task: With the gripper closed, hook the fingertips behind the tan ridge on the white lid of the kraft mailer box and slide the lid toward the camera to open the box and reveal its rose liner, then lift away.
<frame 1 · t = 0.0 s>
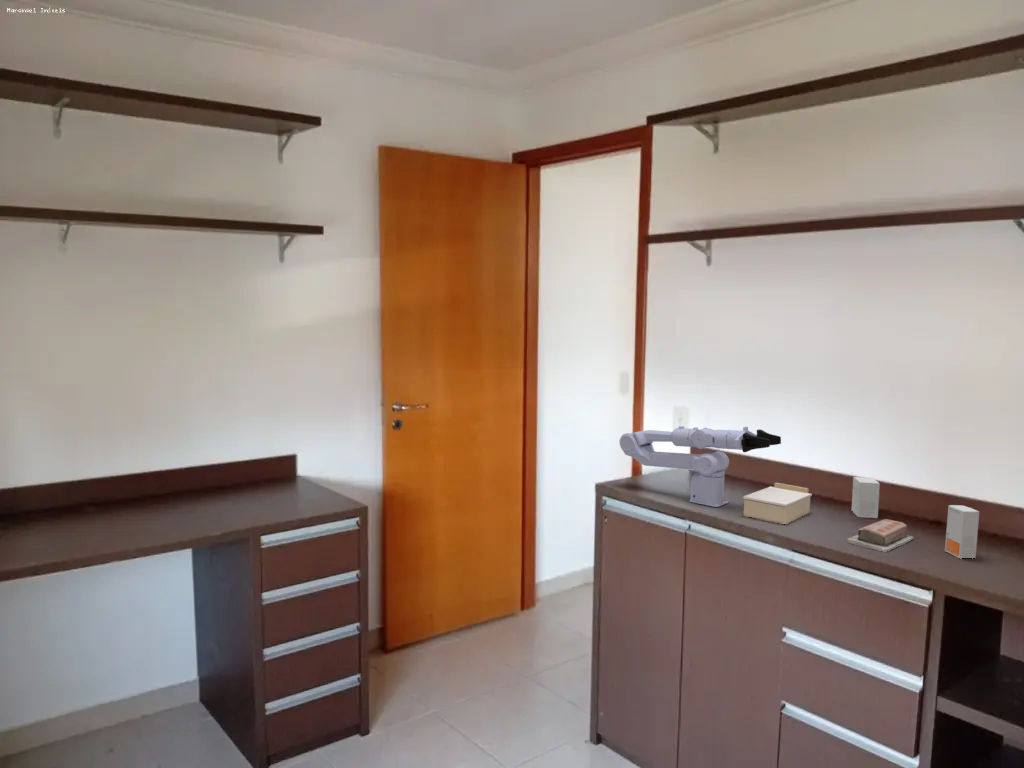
hand: (774, 441, 221), 22 cm above the cabinet, tool horizontal, fingers open, 7 cm apart
small box: (864, 515, 227), on the cabinet
skincare box: (959, 556, 190), on the cabinet
packaged product: (880, 543, 200), on the cabinet
mailer box: (776, 514, 224), on the cabinet
lid: (778, 493, 224), point 6 cm above the cabinet, slide at 0.0 cm
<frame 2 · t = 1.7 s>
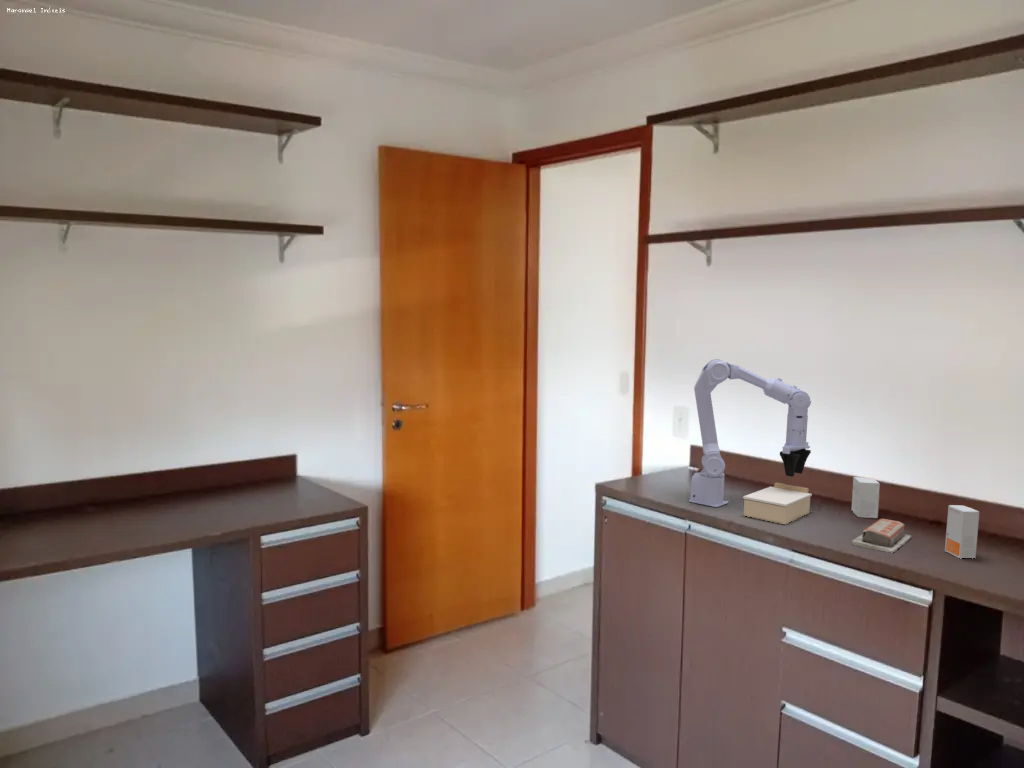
hand: (794, 474, 231), 10 cm above the cabinet, tool pointing down, fingers open, 6 cm apart
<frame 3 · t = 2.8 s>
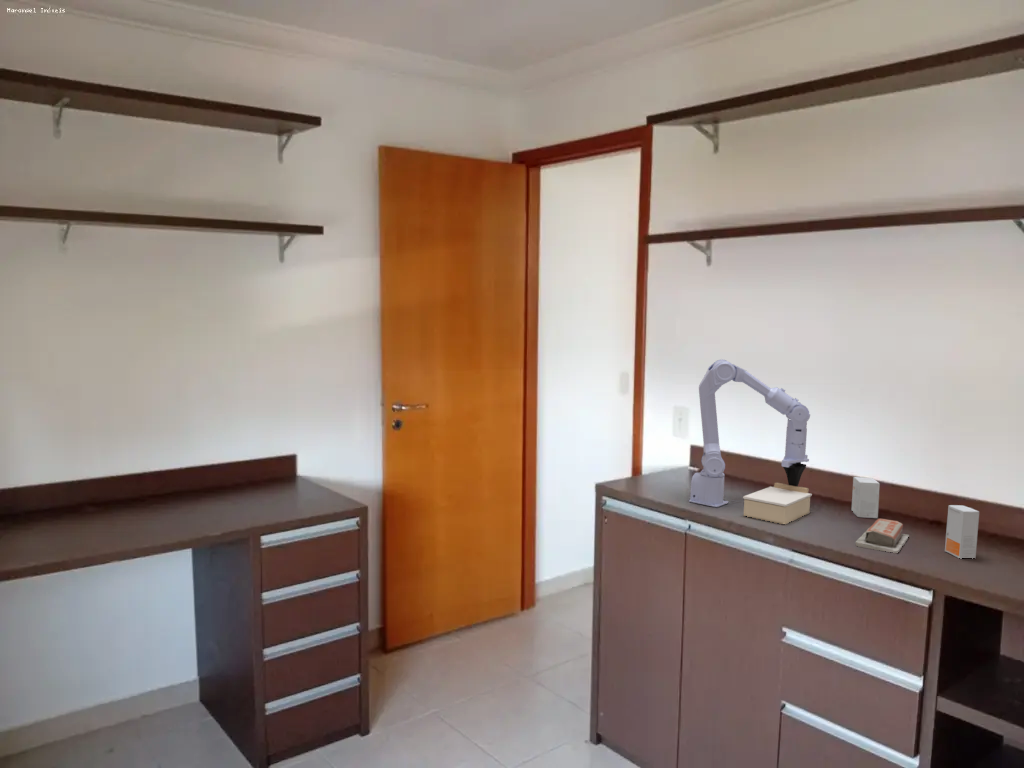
hand: (793, 487, 231), 6 cm above the cabinet, tool pointing down, fingers closed
lid: (778, 493, 224), point 6 cm above the cabinet, slide at 0.0 cm, touching gripper
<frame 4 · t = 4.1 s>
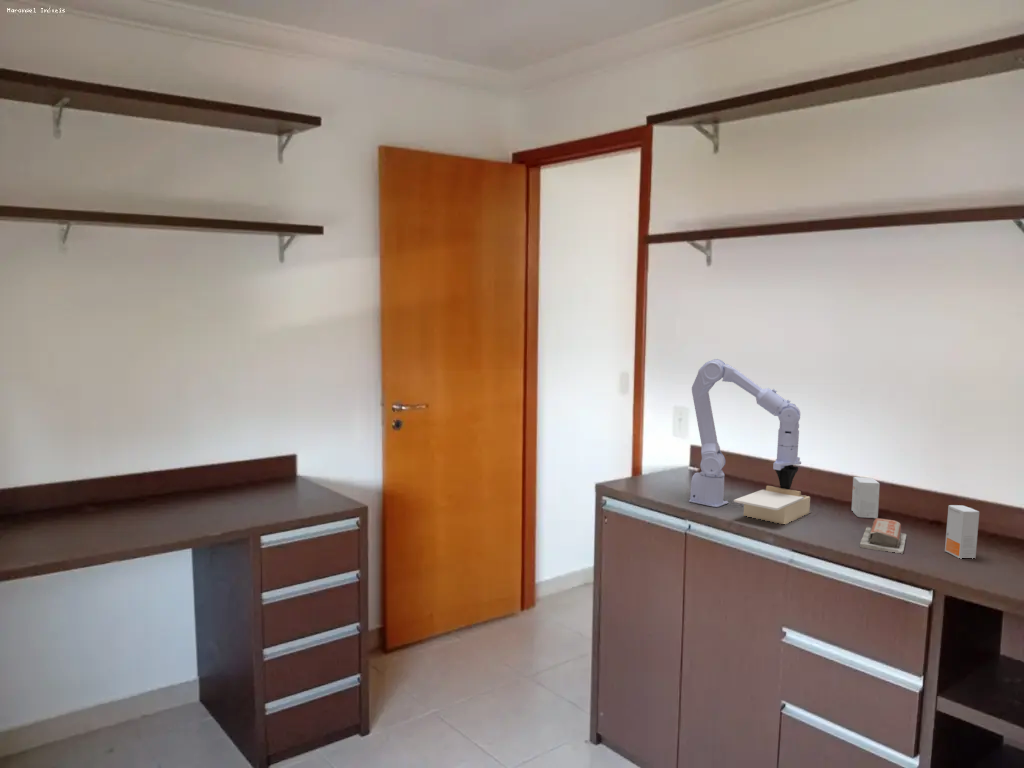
hand: (785, 490, 227), 6 cm above the cabinet, tool pointing down, fingers closed
lid: (769, 497, 219), point 6 cm above the cabinet, slide at 5.9 cm, touching gripper
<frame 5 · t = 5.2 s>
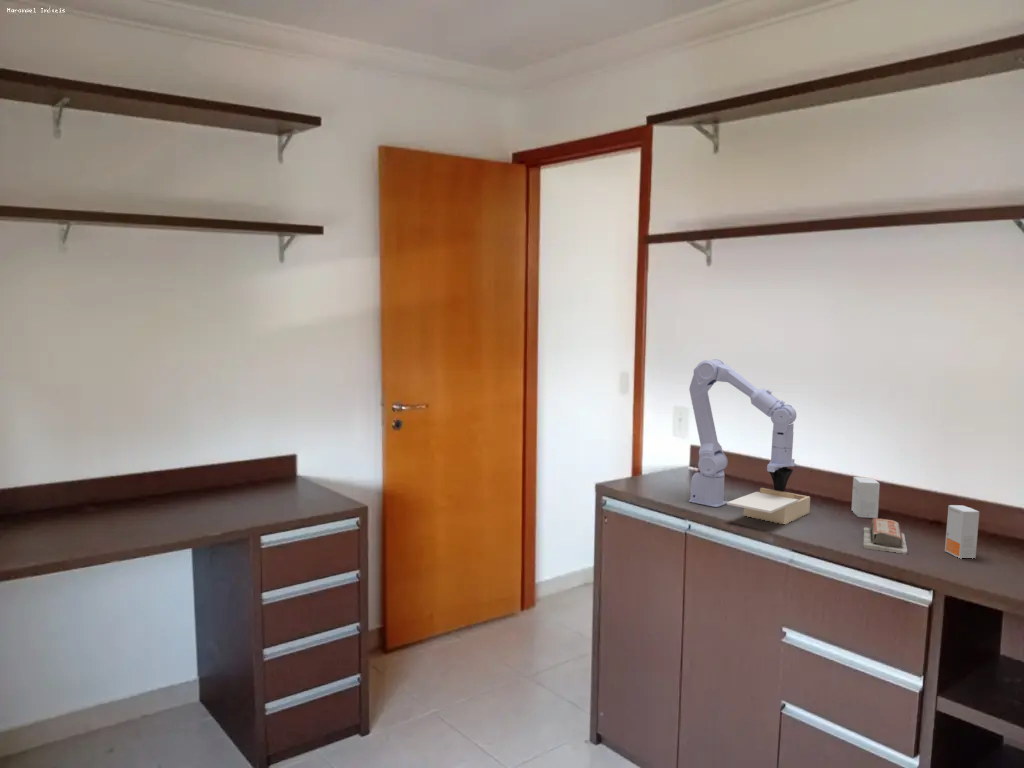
hand: (779, 492, 224), 6 cm above the cabinet, tool pointing down, fingers closed
lid: (763, 499, 216), point 6 cm above the cabinet, slide at 10.0 cm, touching gripper
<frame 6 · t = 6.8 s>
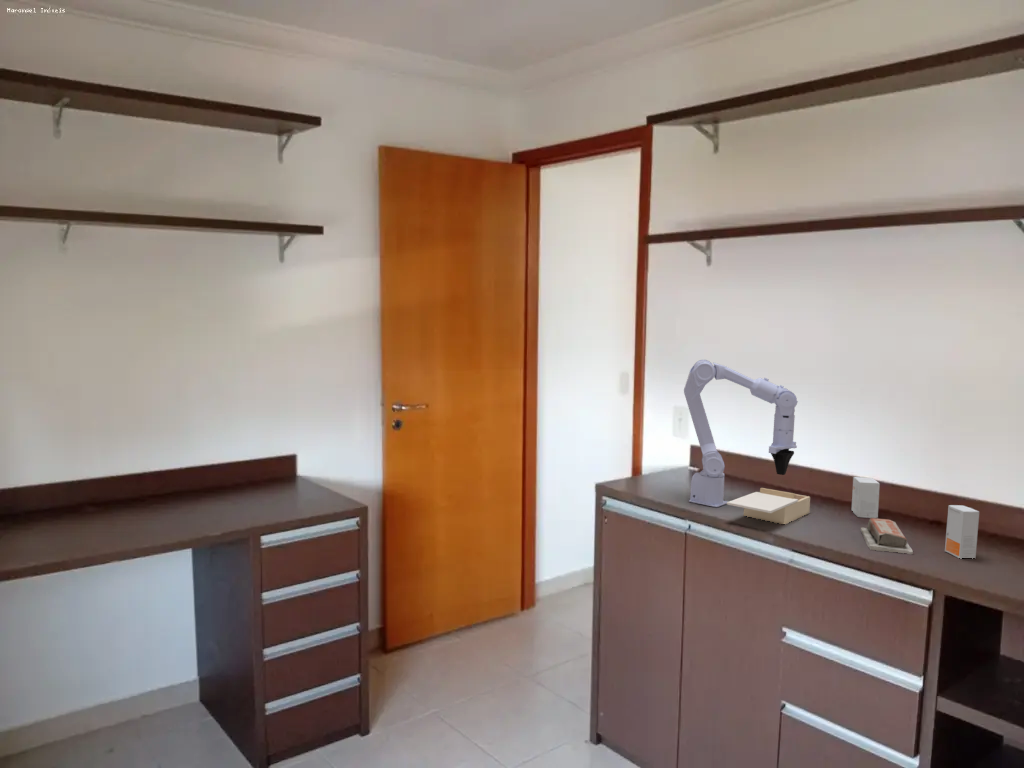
hand: (781, 474, 231), 10 cm above the cabinet, tool pointing down, fingers closed
lid: (763, 499, 216), point 6 cm above the cabinet, slide at 10.0 cm
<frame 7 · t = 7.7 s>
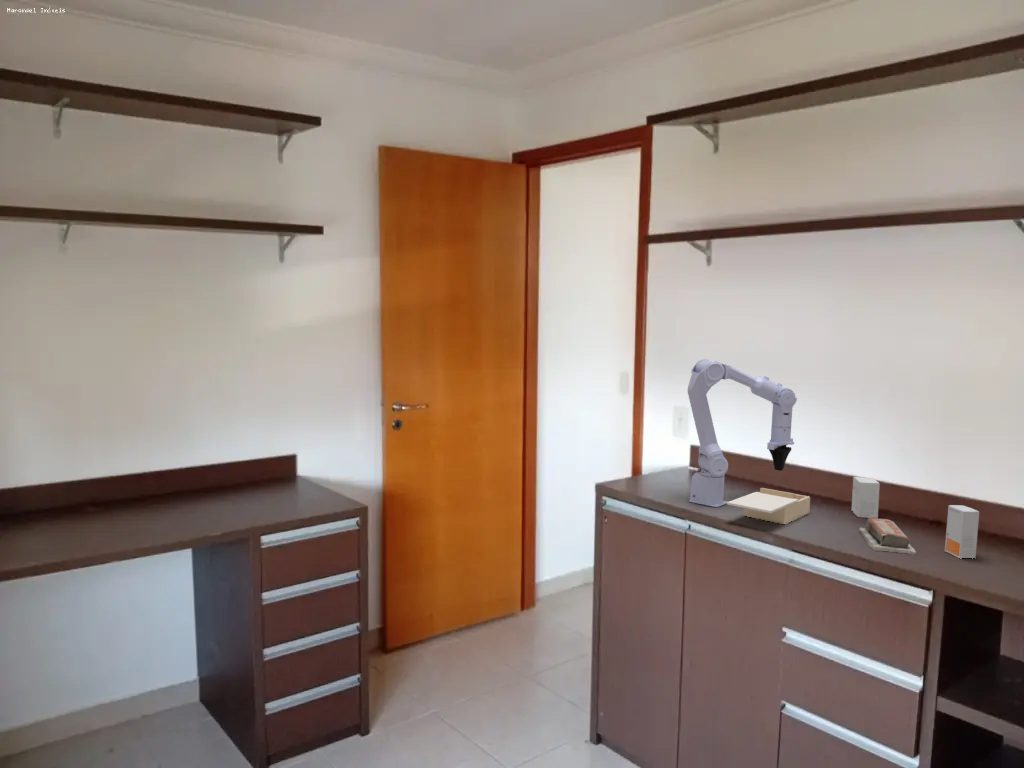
hand: (778, 469, 237), 10 cm above the cabinet, tool pointing down, fingers closed
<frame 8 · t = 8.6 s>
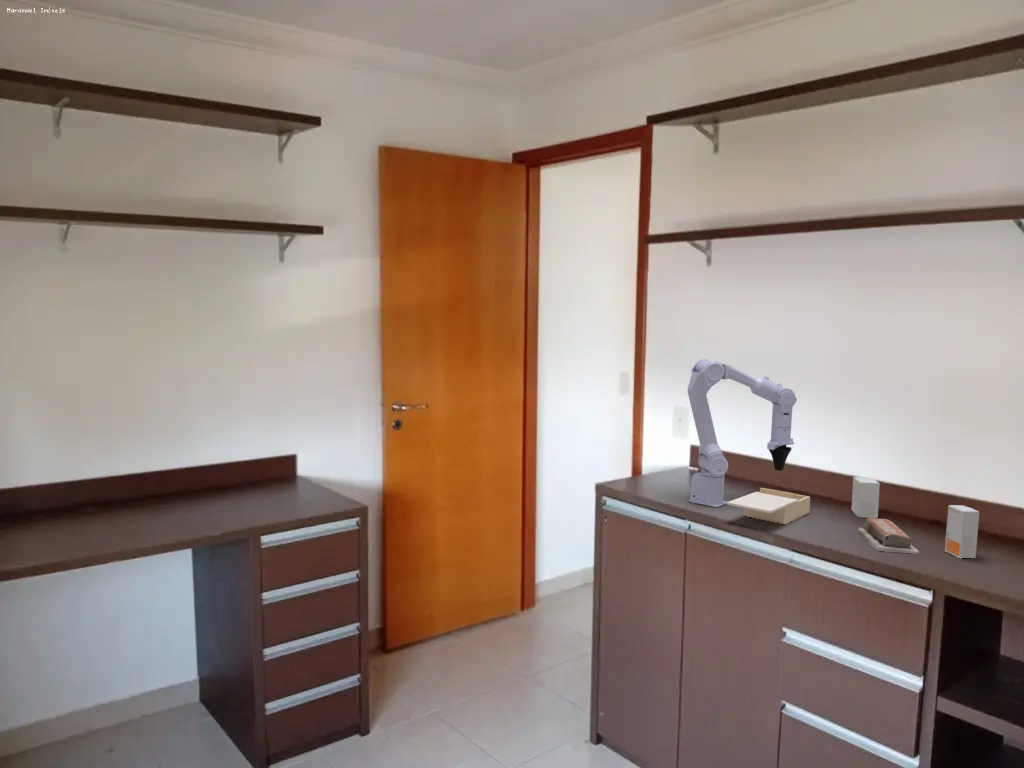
hand: (778, 469, 237), 10 cm above the cabinet, tool pointing down, fingers closed
at the end: lid slide at 10.0 cm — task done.
